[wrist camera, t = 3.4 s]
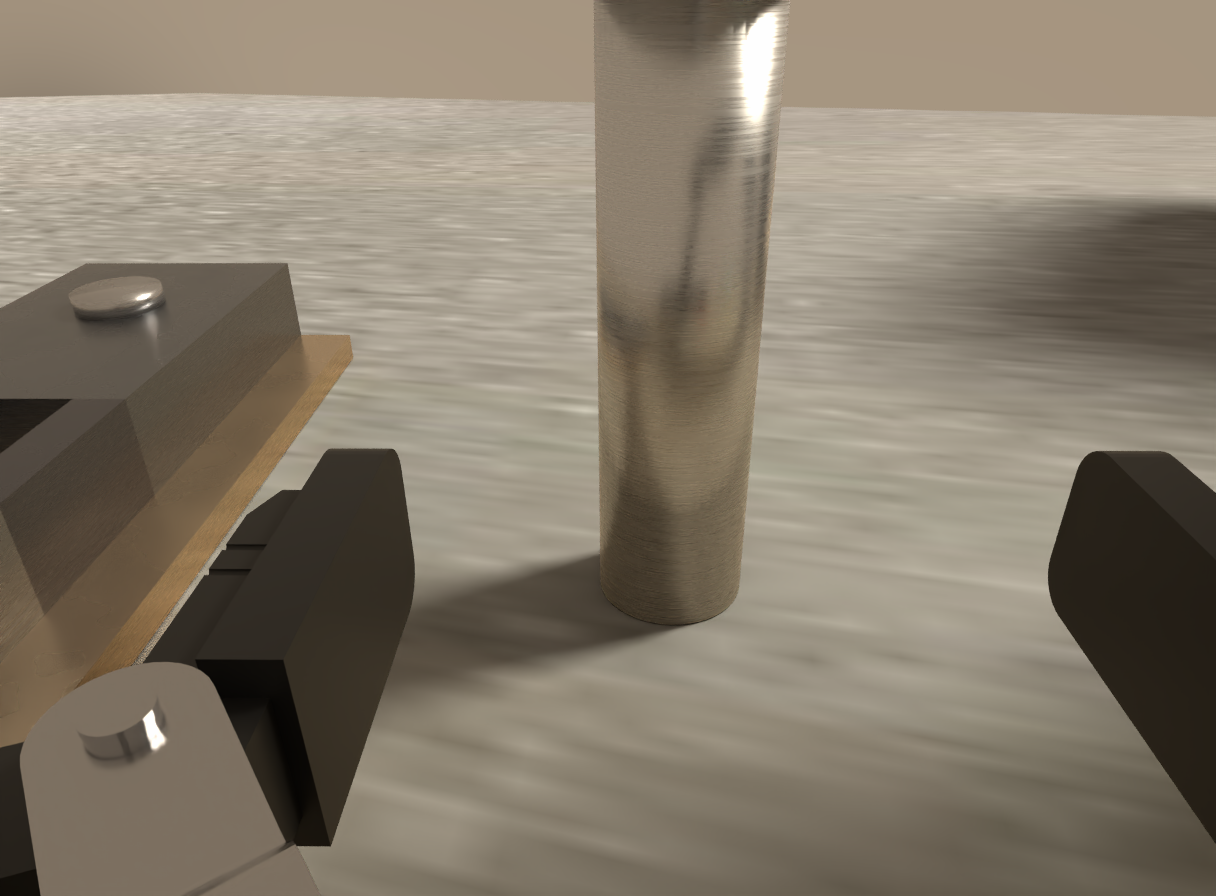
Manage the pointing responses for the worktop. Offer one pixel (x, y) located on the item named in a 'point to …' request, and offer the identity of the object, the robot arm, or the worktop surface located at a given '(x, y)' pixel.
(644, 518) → the steel pin
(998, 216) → the worktop surface
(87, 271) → the pin socket base plate
